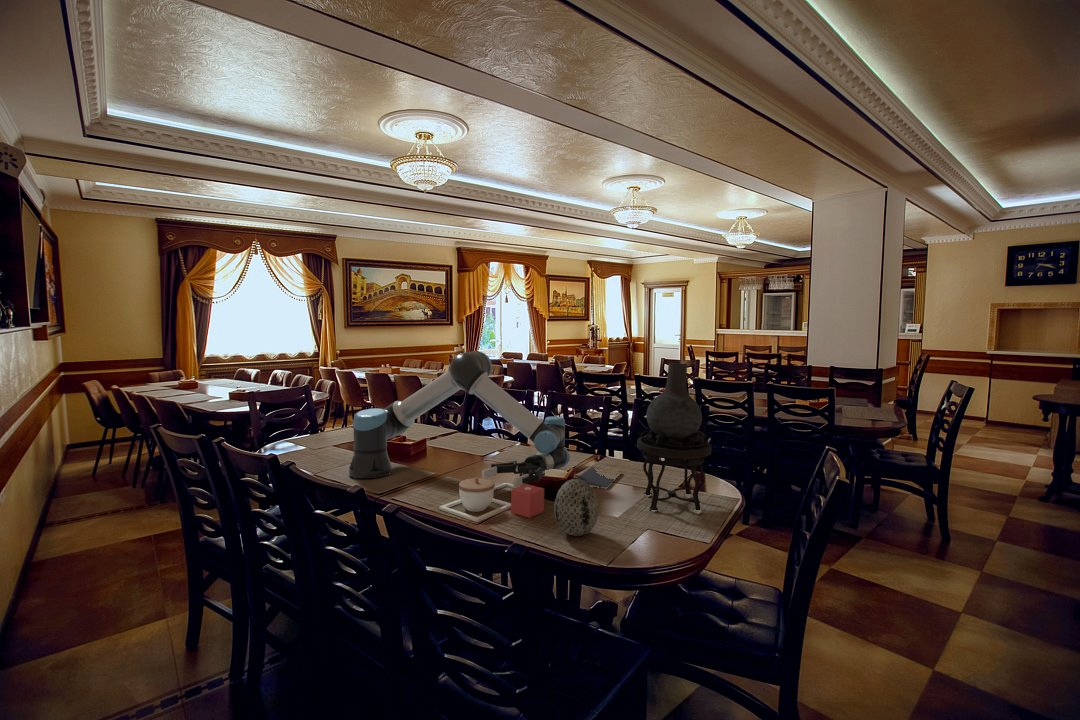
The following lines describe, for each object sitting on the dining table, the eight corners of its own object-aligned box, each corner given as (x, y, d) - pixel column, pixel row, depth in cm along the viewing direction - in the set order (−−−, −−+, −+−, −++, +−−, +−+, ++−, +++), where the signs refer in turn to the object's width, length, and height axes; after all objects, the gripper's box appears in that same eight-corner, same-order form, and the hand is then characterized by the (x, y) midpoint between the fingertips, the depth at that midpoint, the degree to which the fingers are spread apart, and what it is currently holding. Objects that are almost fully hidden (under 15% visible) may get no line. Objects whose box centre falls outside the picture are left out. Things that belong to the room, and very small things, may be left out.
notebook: (591, 470, 195) (572, 485, 176) (591, 466, 195) (572, 481, 176) (622, 475, 190) (606, 491, 170) (623, 471, 190) (606, 486, 170)
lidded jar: (492, 515, 146) (492, 483, 145) (455, 514, 146) (455, 483, 145) (495, 502, 157) (496, 473, 156) (462, 501, 157) (462, 472, 156)
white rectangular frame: (505, 484, 174) (505, 482, 174) (541, 494, 165) (541, 492, 165) (439, 509, 150) (439, 506, 150) (477, 522, 140) (477, 519, 140)
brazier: (630, 511, 151) (634, 363, 148) (641, 489, 172) (645, 359, 169) (708, 522, 143) (714, 366, 140) (709, 497, 164) (715, 362, 161)
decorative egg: (565, 546, 125) (567, 488, 124) (546, 529, 136) (547, 475, 135) (605, 539, 130) (607, 483, 129) (584, 523, 141) (585, 471, 140)
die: (525, 506, 154) (526, 483, 153) (543, 511, 149) (544, 487, 149) (511, 512, 148) (511, 488, 148) (529, 518, 144) (529, 493, 143)
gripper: (567, 482, 168) (528, 498, 151) (511, 468, 183) (470, 482, 166) (567, 460, 168) (529, 474, 151) (511, 448, 183) (470, 460, 166)
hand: (498, 478), depth 159 cm, fingers open, 13 cm apart
